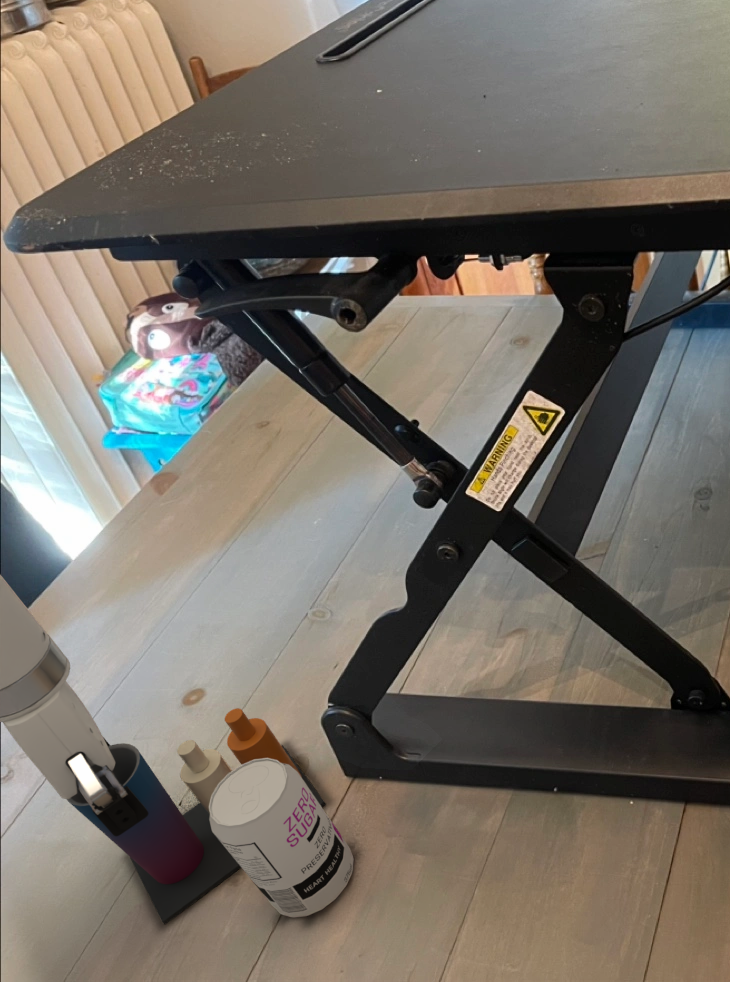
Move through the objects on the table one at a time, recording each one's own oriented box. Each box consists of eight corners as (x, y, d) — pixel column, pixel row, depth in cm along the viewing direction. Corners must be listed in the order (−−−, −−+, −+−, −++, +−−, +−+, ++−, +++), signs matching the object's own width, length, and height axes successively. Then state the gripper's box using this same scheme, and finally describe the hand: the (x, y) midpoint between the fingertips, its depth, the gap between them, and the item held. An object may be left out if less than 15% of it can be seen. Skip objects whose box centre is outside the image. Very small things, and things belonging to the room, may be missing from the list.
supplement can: (271, 864, 106) (202, 775, 97) (352, 830, 108) (291, 739, 99) (274, 935, 100) (200, 847, 91) (360, 897, 102) (295, 807, 93)
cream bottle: (229, 841, 109) (173, 771, 102) (215, 819, 111) (159, 749, 104) (265, 815, 111) (212, 745, 103) (250, 793, 113) (198, 723, 106)
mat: (164, 924, 103) (162, 922, 103) (130, 856, 110) (127, 853, 110) (326, 804, 111) (324, 801, 111) (284, 747, 118) (282, 744, 118)
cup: (134, 897, 105) (51, 810, 96) (160, 835, 111) (84, 748, 102) (199, 888, 105) (121, 800, 96) (222, 827, 110) (151, 738, 101)
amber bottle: (273, 809, 111) (221, 738, 104) (259, 787, 114) (207, 717, 106) (308, 784, 113) (259, 713, 106) (293, 763, 116) (244, 692, 108)
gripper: (-51, 653, 94) (52, 769, 105) (-9, 760, 83) (103, 878, 93) (35, 604, 98) (127, 721, 108) (88, 700, 87) (185, 821, 97)
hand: (116, 794), depth 101 cm, fingers open, 9 cm apart
